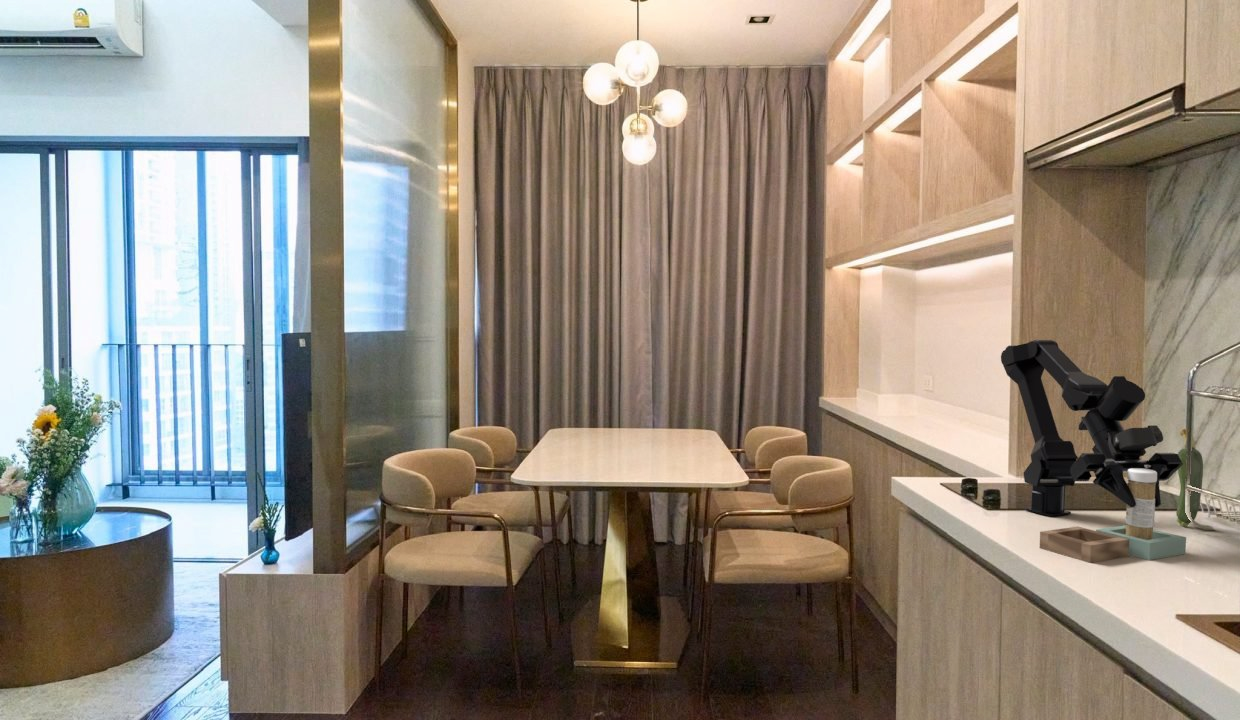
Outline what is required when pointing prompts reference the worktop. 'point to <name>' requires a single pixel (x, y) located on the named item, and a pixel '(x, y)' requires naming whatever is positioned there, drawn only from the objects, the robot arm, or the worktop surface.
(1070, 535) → the walnut socket
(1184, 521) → the vegetable
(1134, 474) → the sprinkles bottle
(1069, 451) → the robot arm
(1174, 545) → the green square socket
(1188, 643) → the worktop surface
